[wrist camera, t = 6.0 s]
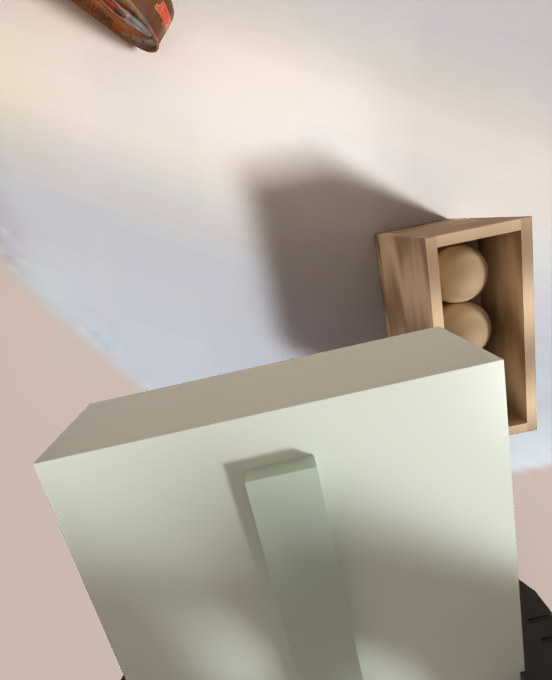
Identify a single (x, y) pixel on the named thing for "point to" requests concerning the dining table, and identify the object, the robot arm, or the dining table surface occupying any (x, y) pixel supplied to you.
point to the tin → (133, 19)
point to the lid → (302, 518)
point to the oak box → (468, 293)
